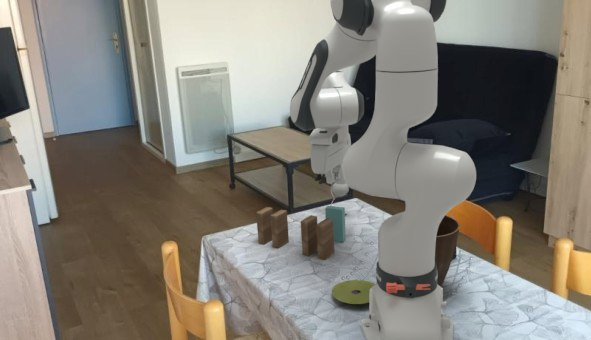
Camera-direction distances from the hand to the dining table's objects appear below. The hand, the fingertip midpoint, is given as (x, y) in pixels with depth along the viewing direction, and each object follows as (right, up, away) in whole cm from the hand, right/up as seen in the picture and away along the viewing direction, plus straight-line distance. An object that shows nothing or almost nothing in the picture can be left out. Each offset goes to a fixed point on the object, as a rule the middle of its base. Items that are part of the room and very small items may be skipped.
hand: (333, 180), depth 157 cm
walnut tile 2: (-15, -18, +4) cm, 24 cm away
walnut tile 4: (-6, -20, -2) cm, 21 cm away
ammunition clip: (+27, -21, -12) cm, 36 cm away
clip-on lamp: (+2, -11, +25) cm, 28 cm away
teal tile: (+1, -17, +5) cm, 18 cm away
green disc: (+3, -27, -27) cm, 38 cm away
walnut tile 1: (-19, -18, +7) cm, 27 cm away
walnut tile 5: (-2, -20, -5) cm, 21 cm away
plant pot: (+20, -25, -23) cm, 39 cm away
